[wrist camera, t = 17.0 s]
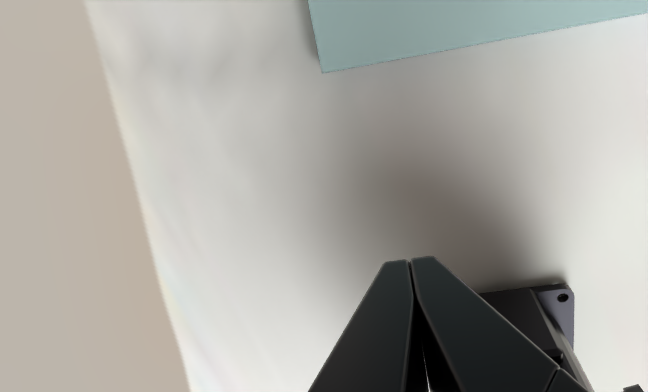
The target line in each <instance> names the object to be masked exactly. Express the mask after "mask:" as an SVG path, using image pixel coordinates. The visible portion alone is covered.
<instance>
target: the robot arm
mask: <svg viewBox="0 0 648 392" xmlns="http://www.w3.org/2000/svg"><path fill="white" fill-rule="evenodd" d="M409 264H410V265H409ZM410 270H411V271H410ZM562 293H565V294H564V295H563V296H561V297H558V296H559V295H560V294H562ZM573 342H574V293H573V292H572V290H571V288H570V287H569V286H568V285H566V284H554V285H546V286H538V287H530V288H522V289H514V290H506V291H498V292H490V293H482V294H477V293H476V292H474V291H473V290H472V289H471V288H470V287H469V286H468V285H466V284H465V283H464V282H463V281H462V280H461V279H460V278H458V277H457V276H456V275H455V274H454V273H453V272H452V271H450V270H449V269H448V268H447V267H446V266H445V265H444V264H442V263H441V262H440V261H439V260H438V259H437V258H436V257H434V256H426V257H419V258H413V259H411V260H410V262H408V261H407V260H397V261H389V262H385V263H384V264H383V265H382V267H381V269H380V270H379V272H378V274H377V275H376V277H375V279H374V280H373V282H372V284H371V286H370V287H369V289H368V291H367V292H366V294H365V296H364V297H363V299H362V301H361V302H360V304H359V306H358V308H357V309H356V311H355V313H354V314H353V316H352V318H351V319H350V321H349V323H348V324H347V326H346V328H345V330H344V331H343V333H342V335H341V336H340V338H339V340H338V341H337V343H336V345H335V347H334V348H333V350H332V352H331V353H330V355H329V357H328V358H327V360H326V362H325V363H324V365H323V367H322V369H321V370H320V372H319V374H318V375H317V377H316V379H315V380H314V382H313V384H312V385H311V387H310V389H309V391H308V392H429V389H428V383H429V388H430V392H594V390H593V388H592V386H591V384H590V382H589V381H588V379H587V377H586V375H585V373H584V371H583V369H582V367H581V365H580V363H579V361H578V359H577V357H576V355H575V354H574V352H573ZM423 353H424V354H423ZM424 359H425V360H424ZM425 366H426V367H425ZM426 372H427V374H426ZM427 378H428V381H427ZM623 390H624V391H623V392H644V391H643V390H642V389H641V387H640V386H639V385H638V384H637V385H633V386H630V387H626V388H623Z"/></svg>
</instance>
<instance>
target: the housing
mask: <svg viewBox="0 0 648 392" xmlns="http://www.w3.org/2000/svg"><path fill="white" fill-rule="evenodd" d="M308 5H309V10H310V15H311V20H312V25H313V30H314V35H315V40H316V45H317V50H318V55H319V60H320V65H321V70H322V74H323V73H328V72H333V71H339V70H344V69H350V68H355V67H360V66H366V65H371V64H376V63H382V62H387V61H393V60H398V59H403V58H409V57H414V56H419V55H425V54H430V53H435V52H441V51H446V50H452V49H457V48H462V47H468V46H473V45H478V44H484V43H489V42H494V41H500V40H505V39H511V38H516V37H521V36H527V35H532V34H537V33H543V32H548V31H553V30H559V29H564V28H570V27H575V26H580V25H586V24H591V23H596V22H602V21H607V20H612V19H618V18H623V17H629V16H634V15H639V14H645V13H648V0H308Z"/></svg>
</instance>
